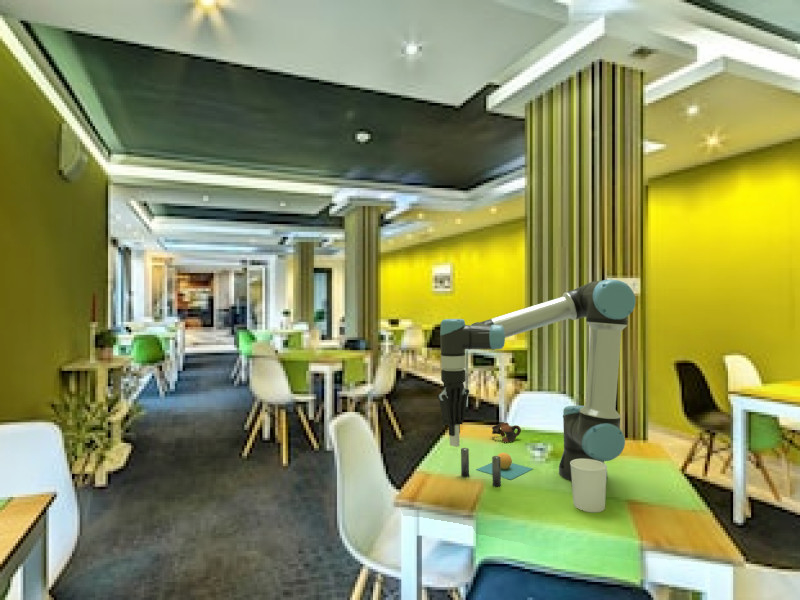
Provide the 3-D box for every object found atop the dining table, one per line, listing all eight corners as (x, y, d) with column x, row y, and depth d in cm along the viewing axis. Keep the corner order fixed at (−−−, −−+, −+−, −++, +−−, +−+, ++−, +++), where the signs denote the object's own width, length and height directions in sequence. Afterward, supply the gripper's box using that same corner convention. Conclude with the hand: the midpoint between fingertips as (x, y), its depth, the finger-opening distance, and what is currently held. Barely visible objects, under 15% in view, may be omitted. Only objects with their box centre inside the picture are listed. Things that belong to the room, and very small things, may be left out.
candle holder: (566, 499, 141) (565, 458, 141) (599, 499, 141) (599, 458, 141) (577, 514, 132) (576, 470, 132) (613, 513, 131) (612, 470, 131)
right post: (502, 485, 153) (502, 457, 153) (497, 487, 151) (497, 459, 151) (495, 483, 154) (495, 455, 154) (491, 485, 153) (490, 457, 153)
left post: (470, 475, 162) (470, 449, 162) (465, 477, 160) (465, 450, 160) (464, 473, 163) (464, 447, 164) (459, 475, 162) (459, 449, 162)
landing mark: (533, 469, 167) (533, 468, 167) (510, 480, 157) (510, 479, 157) (499, 460, 177) (499, 459, 177) (476, 469, 167) (476, 469, 167)
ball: (512, 451, 166) (504, 462, 163) (516, 463, 168) (509, 474, 165) (498, 447, 170) (491, 458, 167) (502, 459, 172) (495, 470, 169)
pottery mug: (497, 445, 197) (490, 425, 201) (495, 449, 205) (489, 430, 209) (525, 437, 197) (518, 417, 201) (522, 441, 205) (516, 422, 209)
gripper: (457, 365, 155) (458, 438, 155) (430, 370, 146) (431, 447, 146) (475, 367, 150) (477, 443, 150) (449, 372, 141) (450, 453, 141)
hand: (454, 445), depth 148 cm, fingers closed
